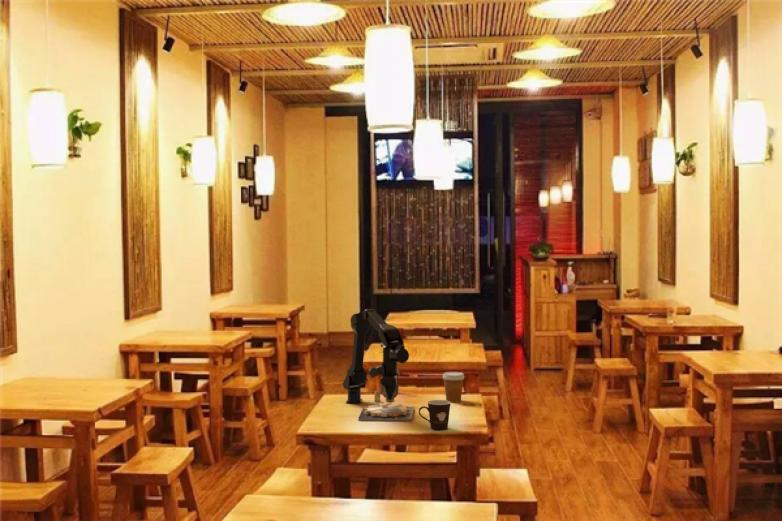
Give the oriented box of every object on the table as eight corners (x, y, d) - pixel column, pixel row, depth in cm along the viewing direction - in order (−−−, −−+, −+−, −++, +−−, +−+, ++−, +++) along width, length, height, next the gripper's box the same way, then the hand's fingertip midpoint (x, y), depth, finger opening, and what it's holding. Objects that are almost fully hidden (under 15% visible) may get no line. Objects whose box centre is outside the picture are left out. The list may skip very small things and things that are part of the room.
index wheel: (352, 411, 346) (351, 395, 346) (385, 404, 359) (385, 389, 359) (385, 420, 331) (385, 403, 331) (419, 412, 344) (419, 396, 344)
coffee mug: (452, 426, 325) (452, 400, 325) (448, 431, 317) (448, 405, 316) (422, 424, 328) (422, 399, 327) (418, 430, 319) (417, 404, 319)
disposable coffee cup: (446, 403, 364) (446, 376, 363) (439, 399, 373) (439, 372, 372) (467, 402, 366) (467, 375, 365) (460, 398, 375) (460, 371, 375)
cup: (397, 404, 336) (397, 384, 336) (379, 403, 338) (379, 383, 337) (400, 400, 344) (400, 380, 343) (383, 399, 345) (383, 380, 345)
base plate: (363, 408, 356) (363, 405, 356) (414, 409, 354) (413, 406, 354) (358, 420, 335) (358, 417, 335) (411, 421, 333) (411, 418, 333)
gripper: (372, 355, 350) (372, 392, 350) (367, 363, 331) (367, 402, 332) (399, 355, 349) (399, 393, 350) (396, 363, 330) (396, 403, 331)
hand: (390, 397), depth 341 cm, fingers closed on cup, 6 cm apart
